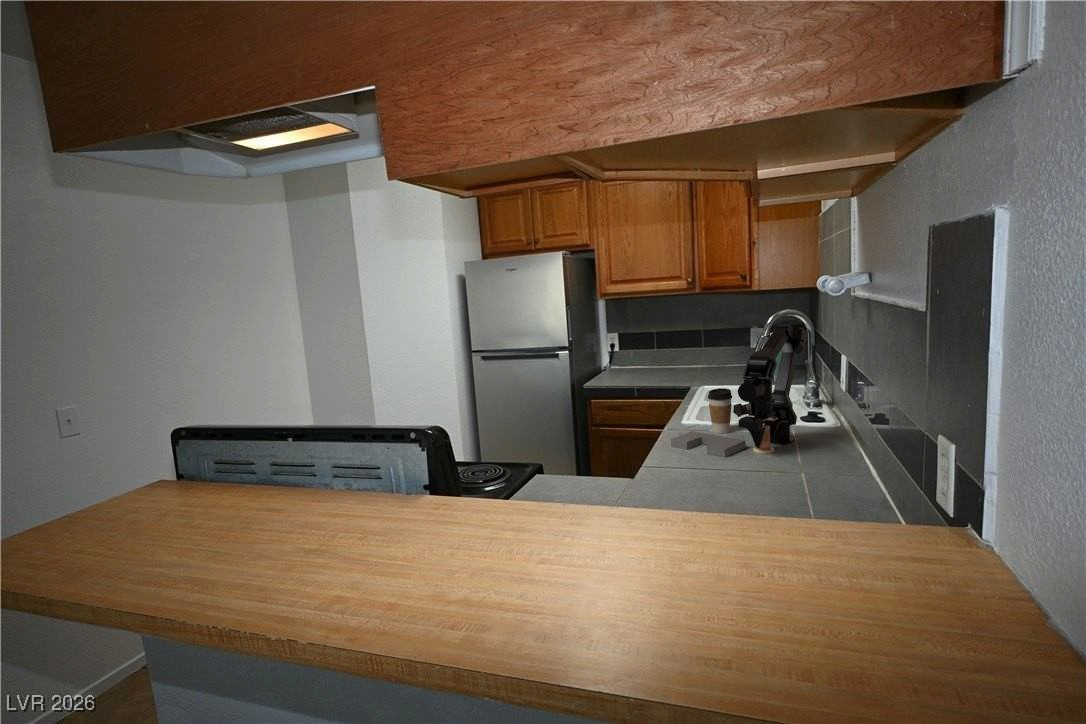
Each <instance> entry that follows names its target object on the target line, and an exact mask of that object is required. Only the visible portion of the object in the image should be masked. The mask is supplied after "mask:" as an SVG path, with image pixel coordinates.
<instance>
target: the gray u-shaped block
mask: <svg viewBox="0 0 1086 724" xmlns="http://www.w3.org/2000/svg"><path fill="white" fill-rule="evenodd" d="M700 445H706V454H708V455H712V456H717V457H722V458H728V457H729V456H731V455H733V454H736V453H738V452H740V451H742V450H744V449H746V447H747V446H746V445H747V444H746V440H744V439H739V438H733V437H728V436H722V435H715V434H709V433H704V432H697V431H690V432H686V433H684V434H681V435H678V436H675V437H673V438H671V439H670V447H673V448H677V449H682V450H690V449H693V448H695V447H697V446H700Z"/></svg>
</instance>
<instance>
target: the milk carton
mask: <svg viewBox="0 0 1086 724" xmlns="http://www.w3.org/2000/svg"><path fill="white" fill-rule="evenodd" d="M769 333H770V336H771V334H772V333H773V331H772V332H769ZM781 354H782V349H781V351H780V352H779V354H778V355H777V357H776V363H777V366H776V369H775V372H774V374H773V377H774V379H772V383H776V378H777V373H778V368H779V364H780V359H781Z"/></svg>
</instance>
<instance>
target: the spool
mask: <svg viewBox="0 0 1086 724" xmlns="http://www.w3.org/2000/svg"><path fill="white" fill-rule="evenodd" d="M762 427H766V428H765V432H764V435H763V439H762V442H761V445H760V448H756V446H755V445H754V447H753V448H752V452H753V453H755V454H757V455H771V454H772V455H773V454H774V452H775V449H774V446H773V447H772V446H771V443H770V426H768V425H764V424H763V426H762Z"/></svg>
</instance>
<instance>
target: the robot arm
mask: <svg viewBox="0 0 1086 724" xmlns="http://www.w3.org/2000/svg"><path fill="white" fill-rule="evenodd" d="M772 332H773V333H772ZM772 332H771V333H772V334H771V336H770V337H769V339H768V340H767V342H766V343H765V345H764V344H763V347H761V349H759V350H757V351H754V352H753V353H752V354H751V355H750V357H749V358H748V360H747V362H746V365H745V368H744V372H743V376H742V378H743V383H741V384H739V386H738V388H737V395H738V397H739V398H740V400H742V401H743V402H746V403H745V404H742V403H740V402H739V403H736V404H734V405H733V407H732V408H733V409H732V413H733V414H734V415H735V416H736V417H737V418H739V417H741V416H743V417H741V418H739V419H738V421H737V423H738V425H737V426H738V428H741V429H745V430H747V431H748V432H749V433H750V436H751V438H752V441H753V443H754V447H755V446H756V448H760V445H761V442H762V439H763V435H764V432H765V428H766V427H762V426H763V425H768V426H770V444H771V443H774V444H779V445H780V444H781V445H788V444H790V443H792V442H795V441H796V438H792V437H791V426H795V425H797V420H798V417H797V414H796V413H795V410H794V408H793V407H794V404H793V402H792V399H791V398H790V393H791V388H792V384H793V378H794V372H795V369H796V364H797V358H798V355H800V353H801V352H803V350H804V349H805V346H806V343H807V341H808V339H809V334H808V331H807V330H805V328H804V327H796V326H793V325H790V324H778V325H775V326H774V327H773V330H772ZM781 349H782V354H781V359H780V364H779V368H778V373H777V378H776V382H774V386H773V382H772V379H774V377H773V374H774V372H775V369H776V366H777V363H776V357H777V355H778V354H779V352H780V351H781ZM773 387H774V388H773Z"/></svg>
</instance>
